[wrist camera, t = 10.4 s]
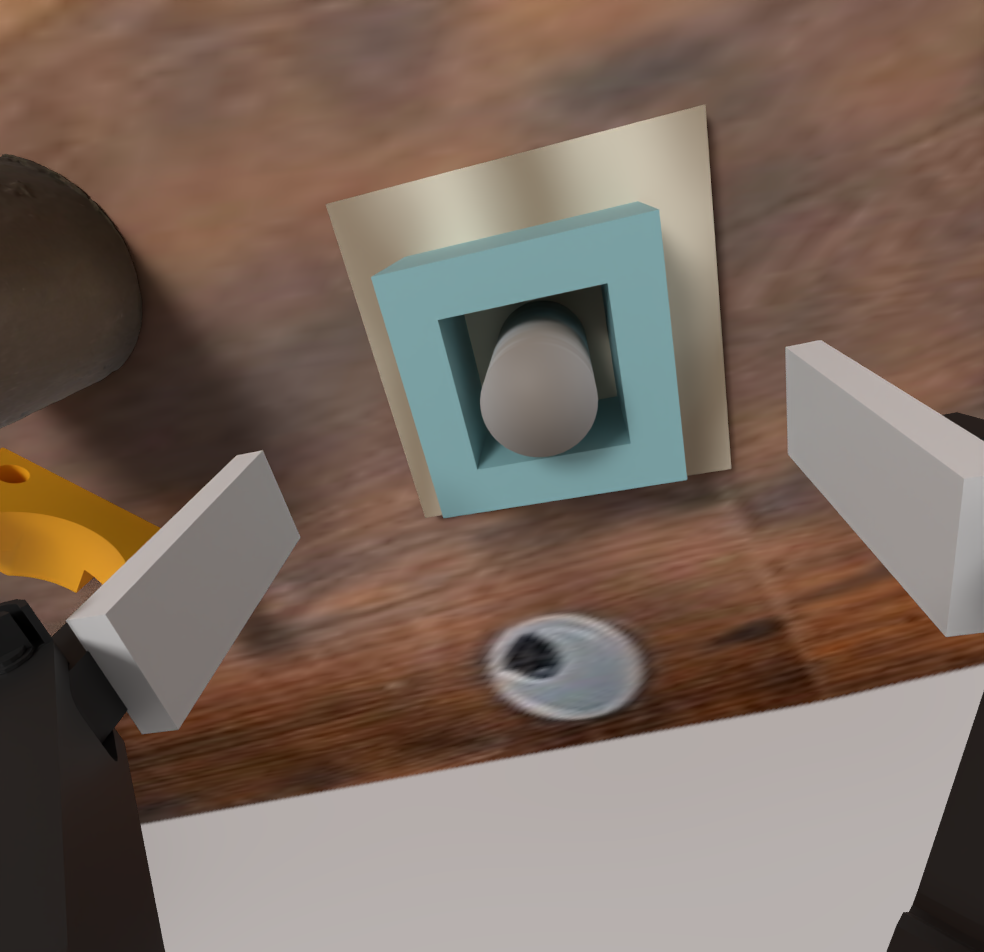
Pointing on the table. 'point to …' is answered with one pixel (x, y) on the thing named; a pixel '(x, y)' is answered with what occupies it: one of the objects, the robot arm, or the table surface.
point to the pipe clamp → (61, 527)
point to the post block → (566, 316)
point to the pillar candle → (58, 290)
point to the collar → (521, 277)
